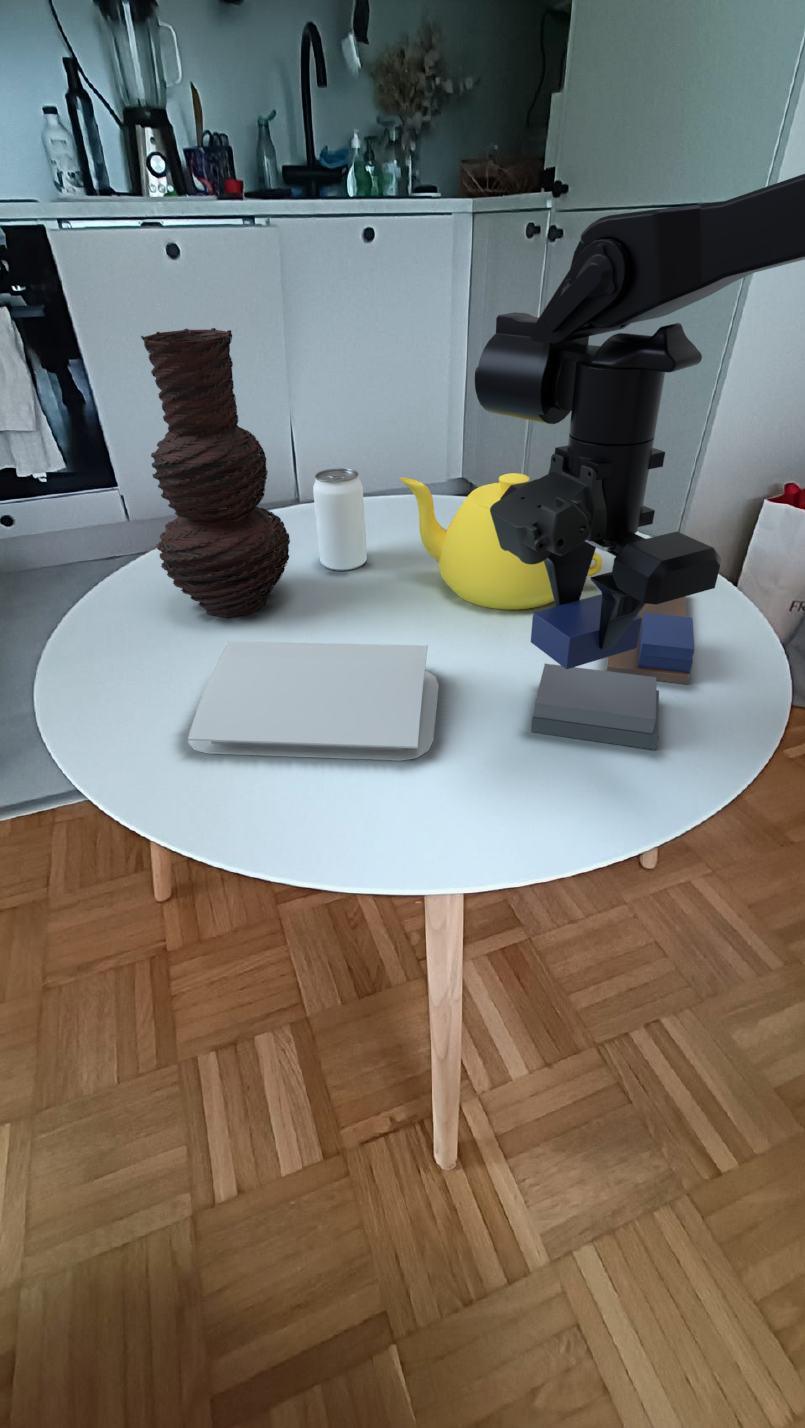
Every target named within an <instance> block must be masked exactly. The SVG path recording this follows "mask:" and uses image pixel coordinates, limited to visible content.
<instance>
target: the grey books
mask: <svg viewBox="0 0 805 1428" xmlns="http://www.w3.org/2000/svg"><path fill="white" fill-rule="evenodd" d="M659 712H660V690H659V689H657V680H656V677H650V676H642V675H634V674H626V673H618V672H609V671H606V670H600V669H593V668H592V669H591V668H584V667H578V666H577V667H573V668H570V669H565V668H564V667H562V666H561V665H560V664H553V663H552V664H551V663H544V665H543V669H542V673H541V677H540V681H539V685H538V688H537V692H536V696H535V700H534V707H533V712H532V717H531V725H530V732H531V733H535V734H544V735H551V736H556V737H564V738H569V739H570V738H571V739H578V740H584V741H585V740H586V741H591V742H598V743H605V744H611V745H617V746H618V745H619V746H624V747H631V748H632V747H633V748H638V749H647V750H654V751H656V750H657V745H658V741H659V733H660V731H659V727H660V726H659V725H660V724H659V723H660V713H659Z"/></svg>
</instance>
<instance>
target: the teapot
mask: <svg viewBox="0 0 805 1428" xmlns="http://www.w3.org/2000/svg"><path fill="white" fill-rule="evenodd" d="M399 480H400V481H401V482H402V483H403V484H405V486H406V487H408V488H409V490H411V492H412V493H413V496H414V497H415V500H416V503H417V509H418V526H419V534H420V539H421V543H422V545H423V548H424V549H425V551H426V552H427V553H428V554H429V556H430V557H432V558H433V559H434V560H435V561H436V562H438V570H439V571H438V572H439V573H440V576H441V578H442V580H443V581H444V582H445V584H446V585H447V586H448V587H449V588H450V589H451V590H452V591H453V592H454V594H455V595H457V596H458V597H460V599H462V600H463V601H466V602H468V603H470V604H473V605H476V606H479V607H483V608H489V609H494V610H495V609H496V610H507V611H508V610H511V611H512V610H513V611H515V610H528V609H534V608H538V607H543V606H545V605H549V604H551V603H553V602H554V597H553V593H552V589H551V585H550V581H549V577H548V573H547V570H546V567H545V563H544V561H543V562H540V563H538V564H532V565H531V564H525V563H523V562H522V561H521V560H520V559H519V558H518V557H517V556H515V555H514V554H512V553H511V552H509V551H504V550H503V549H502V548H501V547H500V544H499V540H498V537H497V533H496V530H495V527H494V523H493V520H492V517H491V513H490V508H491V506H492V505H493V504H494V503H496V502H497V501H499V500H500V498H501V497H502V496H503V494H504V493H505V492H506V491H507V489H508V488H509V487H510V485H515V484H520V483H525V482H530V477H529V476H528V475H526V474H524V473H517V472H512V473H505V474H502V475H500V476H499V477H498V482H493V483H489V484H484V485H481V486H479V487H477V488H475V489H473V490H472V491H471V492H470V493H469V494H468V495H467V496H466V498H465V499H464V500H463V502H462V504H461V505H460V507H459V508H458V509H457V511H456V513H455V514H454V516H453V518H452V519H451V521H450V523H449V525H448V527H447V529H446V528H444V527H443V526H442V525H441V524H440V523H439V522H438V520H437V518H436V515H435V505H434V498H433V495H432V492H431V490H430V488H429V487H428V486H427V485H426V484H424V483H423V482H421V481H419V480H416V479H412V478H408V477H402V476H401V477H399ZM592 561H594V562H595V563H594V564H593V565H592V564H591V565H590V568H589V571H588V575H587V577H593V576H596V575H597V574H598V573H600V571H601V570H602V568H603V563H604V561H603V557H602V555H600V553H598V552H596V551H595V552H594V556H593V559H592Z"/></svg>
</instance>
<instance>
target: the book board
mask: <svg viewBox="0 0 805 1428" xmlns="http://www.w3.org/2000/svg"><path fill="white" fill-rule="evenodd" d="M644 613H652V614H662V615H672V616H682V617H688V615H687V596H685V597H682V598H678V599H674V600H671V601H667V602H664V603H660V604H657V605H655V604H645V606H644V607H643V608H642V609H641V611H640V612H639V613H638V616H640V617H641V618H642V620H643V615H644ZM641 625H642V622H641ZM640 630H641V628H640ZM639 638H640V633H639ZM638 656H639V639H638V644H637V648H636V649H632V650H629V651H626V652H623V653H619V654H616V655H613V656H609V657H607V662H606V670H605V671H609V672H618V673H626V674H634V675H642V676H650V677H656V682H657V681H659V682H667V683H673V684H674V683H675V684H682V685H689V682H690V678H691V672H690V673H683V672H674V671H666V670H658V669H650V668H641V667H638Z"/></svg>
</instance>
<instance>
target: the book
mask: <svg viewBox="0 0 805 1428" xmlns="http://www.w3.org/2000/svg"><path fill="white" fill-rule="evenodd" d="M428 648H429V645H425V644H424V645H421V644H419V645H418V644H414V645H413V644H384V643H383V644H381V643H380V644H376V643H375V644H374V643H335V642H333V643H332V642H330V643H329V642H288V641H287V642H284V641H283V642H282V641H244V640H243V641H240V640H239V641H238V640H237V641H235V640H229V641H227V642H226V644H225V646H224V647H223V649H222V651H221V653H220V655H219V657H218V659H217V661H216V663H215V665H214V667H213V670H212V672H211V674H210V676H209V678H208V680H207V683H206V685H205V687H204V690H203V692H202V695H201V697H200V701H199V703H198V705H197V708H196V711H195V715H194V717H193V721H192V724H191V727H190V730H189V733H188V737H187V743H188V745H189V746H190V747H191V748H192V749H193V751H195V752H200V753H204V754H208V755H209V754H212V755H237V756H238V755H239V756H264V757H265V756H266V757H293V758H294V757H295V758H320V759H321V758H323V759H345V760H347V759H348V760H374V761H375V760H376V761H378V760H379V761H399V762H401V761H407V760H413V759H418V758H419V757H421V756H423V755H424V754H426V753H427V752H429V751H430V749H431V747H432V745H433V743H434V741H435V739H434V738H435V729H436V728H435V727H436V719H437V710H438V709H437V707H438V698H439V687H440V686H439V682H438V679H437V676H435V675H434V674H433V673H430V672H429V671H427V670H426V665H427V658H428V657H427V656H428Z"/></svg>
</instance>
